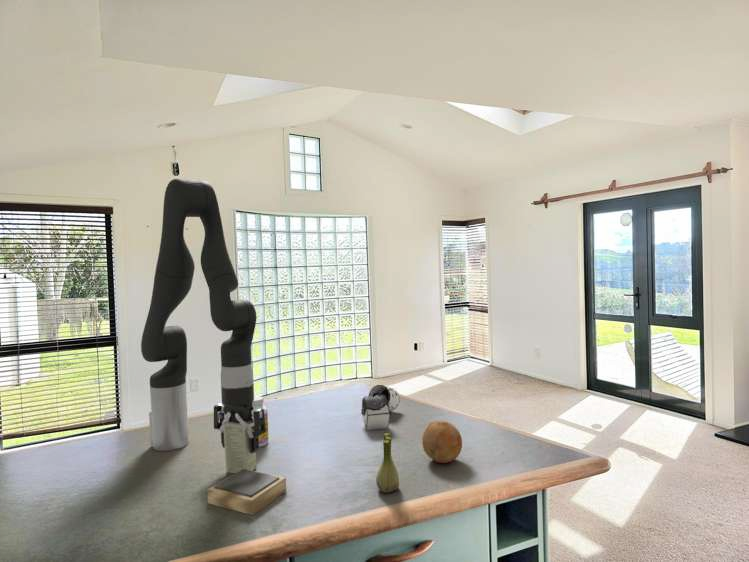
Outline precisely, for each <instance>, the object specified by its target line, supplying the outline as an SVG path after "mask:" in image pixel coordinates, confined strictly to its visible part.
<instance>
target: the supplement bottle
mask: <svg viewBox="0 0 749 562" xmlns="http://www.w3.org/2000/svg"><path fill="white" fill-rule="evenodd" d="M264 403H265V402H264V397H263V396H260V395H258V396H257V395H254V401H253V403H252V406H253V409H256V410H259V409H261V408H262V409H264V416H265V427H266V432H265V433H264V434H262V435H260V436H259V448H262V447H264V446H266V445H267V444H268V443H269V419H268V414H269V412H268V408H267V407H266V406H265V405H264Z"/></svg>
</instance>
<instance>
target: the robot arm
mask: <svg viewBox="0 0 749 562" xmlns="http://www.w3.org/2000/svg"><path fill="white" fill-rule="evenodd" d="M163 199H164V200H163V207H162V208H163V211H162V213H163V214H162V225H161V227H162V228H161V238H160V243H159V251H158V255H157V256H158V257H157V261H156V266H155V272H154V278H153V287H152V293H151V298H150V305H149V308H148V313H147V317H146V320H145V325H144V326H143V327H144V328H143V331H142V336H141V341H140V343H141V344H140V351H141V355H142V357H143V359H144V360H145V361H146V362H148V363H156V362H159V363H160V362H165V361H167V362H166V364H165V365H164V366H163V367H162V368H161V369H159V370H157V371H156V372H154V373H153V374H151V375H150V378H149V390H150V391H149V393H150V394H149V395H150V412H149V414H148V417H149V418H148V419H149V438H150V440H149V441H150V442H149V443H150V447H152V448H153V450H154V451H158V452H166V451H167V452H169V451H174V450H178V449H181V448H183V447H185V446H187V445H188V444H189V441H190V440H189V422H188V420H189V419H188V399H187V398H188V397H187V381H186V380H187V379H186V377H187V374H188V373H187V371H188V366H187V365H188V360H187V359H188V340H187V335H186V332H185V330H184V328H183V327H182V326H180V325H168V326H166V323H167V322H168V319H169V318H170V316H171V314H173V312H174V311H175V310H176V309H177V307H178V306H179V305H181V303H182V302H183V301H184V299H185V298H186V297H187V296H188V294H189V293H190V291H191V288H192V284H193V279H194V276H195V275H194V274H195V273H194V272H195V267H196V265H195V261H194V258H193V256H192V254H191V252H190V250H189V248H188V246H187V244H186V241H185V237H184V236H185V235H184V233H185V231H184V230H185V222H186V219H187V217H188V218H189V217H190V218H199V219H200V220H201V223H202V226H203V230H204V240H203V243H202V249H201V253H200V266H201V271H202V272H203V276H204V279H205V281H206V285H207V287H208V293H209V295H208V296H209V309H210V319H211V322H212V323H213V325H214V326H215V327H216V328H217V329H218V330H219V331H222V332H230V331H232V332H231V336H230V337H229V338H228V339H226V340H225V341H223V342H222V343H221V345H220V361H221V363H220V364H221V365H220V366H221V368H220V389H221V392H220V393H221V403H218V404H214V405H213V429H214V430H218V431H219V433H220V438H221V439H220V442H221V445H222V446H221V447H222V448H223V449H225V445H224V430H223V423H224V422H234V423H240V424H241V425H244V430H245V431H247V433H248V435H249V436H250V438H249V452H250V453H255V452H256V453H257V452H258V450H259V448H260V447H259V436H260V435H262V434H264V433H265V432H266V427H265V416H264V409H262V408H261V409H259V410H256V409H253V406H252V403H253V401H254V396H255V391H254V390H255V387H254V369H253V366H252V364H253V363H252V343H253V340H254V333H255V329H256V325H257V324H256V323H257V311H256V309H255V306H254V305H253V303H252V302H251V301H249V300H248V299H235V300H232V298H231V292H234V291H236V290H237V288H238V287H239V280H238V277H237V274H236V272H235V269H234V266H233V263H232V261H231V258H230V254H229V252H228V248H227V244H226V239H225V234H224V233H225V232H224V227H223V223H222V217H221V211H220V207H219V202H218V198H217V194H216V192H215V190H214V187H213V186H212V184H211V183H210V182H208V181H205V180H199V179H191V178H190V179H188V178H174V179H172V180H170V181H169V182H168V184H167V186H166V188H165V192H164V198H163ZM249 421H251V424H249V425H248V424H246V423H247V422H249ZM251 428H252V429H253V431H254V432H253V431H252V429H251Z"/></svg>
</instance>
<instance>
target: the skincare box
mask: <svg viewBox="0 0 749 562" xmlns="http://www.w3.org/2000/svg"><path fill="white" fill-rule="evenodd" d="M246 424H248V425H249V424H251V421H249V422H247V423H246ZM251 429H252V428H251ZM223 430H224V445H225V448H224V456H225V457H224V459H225V470H226V473H230V474H235V473H237V472H239V471H240V470H242V469H247V470H252V471H255V469H257V467H258V465H257V451H256V452H255V453H250V452H249V438H250V436H249V435H248V433H247V431H245V430H244V425H241V424H240V423H234V422H224V423H223ZM252 431H253V429H252ZM253 432H254V431H253Z"/></svg>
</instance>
